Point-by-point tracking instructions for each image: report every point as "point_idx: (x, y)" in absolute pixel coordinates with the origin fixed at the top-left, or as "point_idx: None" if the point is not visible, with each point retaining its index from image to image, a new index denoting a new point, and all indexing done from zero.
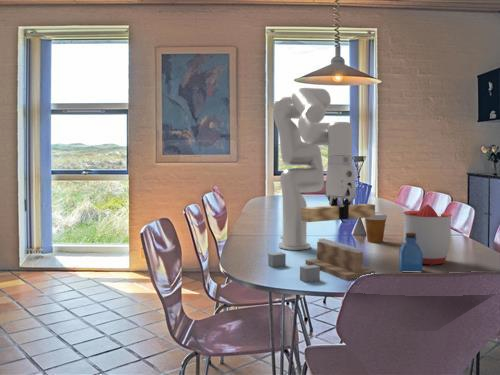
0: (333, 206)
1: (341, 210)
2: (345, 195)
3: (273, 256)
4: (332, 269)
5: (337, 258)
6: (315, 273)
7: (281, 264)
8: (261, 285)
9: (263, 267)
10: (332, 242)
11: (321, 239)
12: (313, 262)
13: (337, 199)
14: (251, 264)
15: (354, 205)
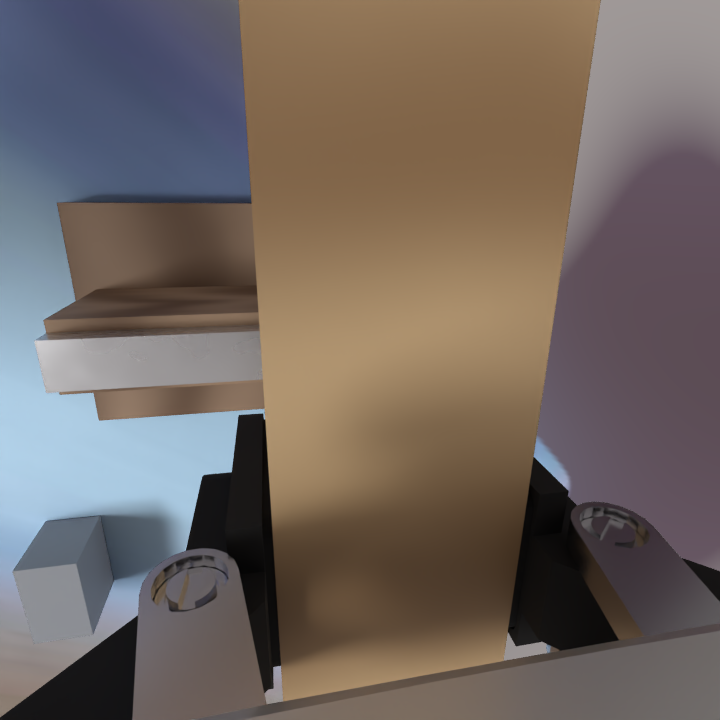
0: (378, 683)
1: None
2: (498, 665)
3: (93, 623)
4: None
5: None
6: None
7: (102, 543)
8: None
9: (101, 616)
10: (250, 369)
11: (84, 383)
12: (183, 409)
13: (258, 692)
14: (14, 649)
15: (452, 221)
